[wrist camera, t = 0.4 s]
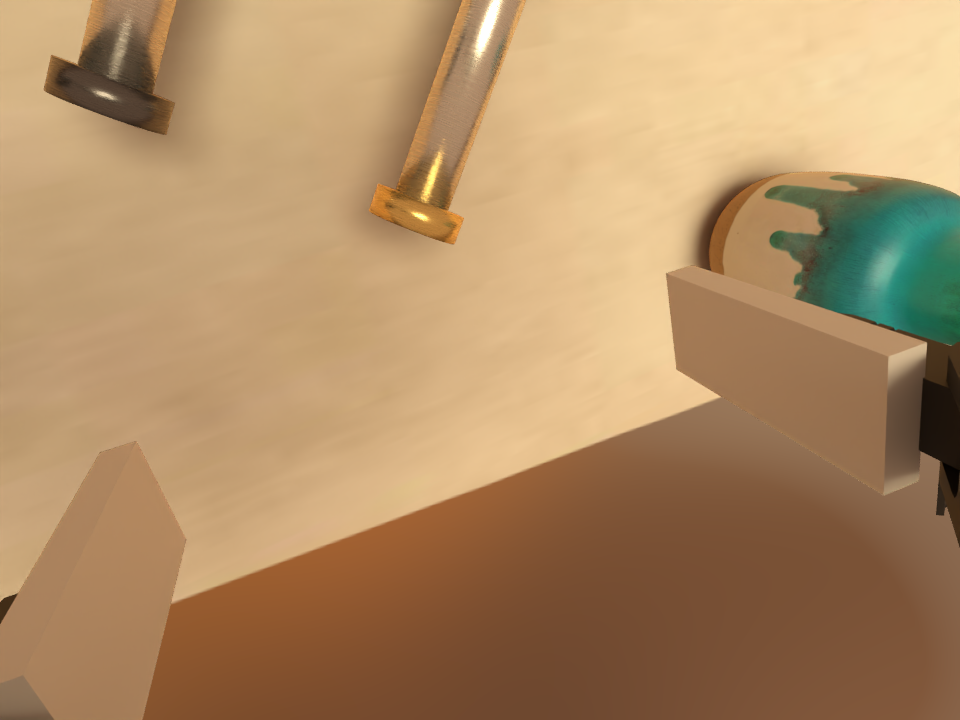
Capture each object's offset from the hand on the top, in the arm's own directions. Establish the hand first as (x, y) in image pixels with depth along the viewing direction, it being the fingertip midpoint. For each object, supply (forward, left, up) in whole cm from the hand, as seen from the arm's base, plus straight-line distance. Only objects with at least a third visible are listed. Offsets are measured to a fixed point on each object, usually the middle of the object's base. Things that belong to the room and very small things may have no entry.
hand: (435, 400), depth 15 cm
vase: (+28, +10, -27) cm, 40 cm away
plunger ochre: (+2, +13, -21) cm, 25 cm away
